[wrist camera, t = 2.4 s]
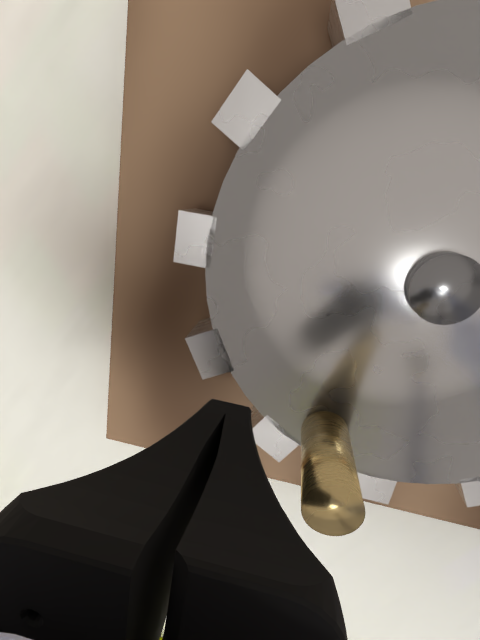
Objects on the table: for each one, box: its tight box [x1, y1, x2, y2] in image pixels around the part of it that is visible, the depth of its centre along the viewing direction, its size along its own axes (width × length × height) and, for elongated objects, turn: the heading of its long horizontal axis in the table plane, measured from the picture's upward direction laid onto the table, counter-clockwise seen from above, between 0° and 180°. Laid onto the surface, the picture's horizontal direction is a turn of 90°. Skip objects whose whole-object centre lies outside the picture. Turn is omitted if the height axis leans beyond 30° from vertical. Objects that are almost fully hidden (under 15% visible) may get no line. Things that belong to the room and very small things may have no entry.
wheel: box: [173, 0, 480, 536], centre depth 10 cm, size 16×16×6 cm
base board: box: [106, 0, 480, 529], centre depth 13 cm, size 22×20×1 cm
